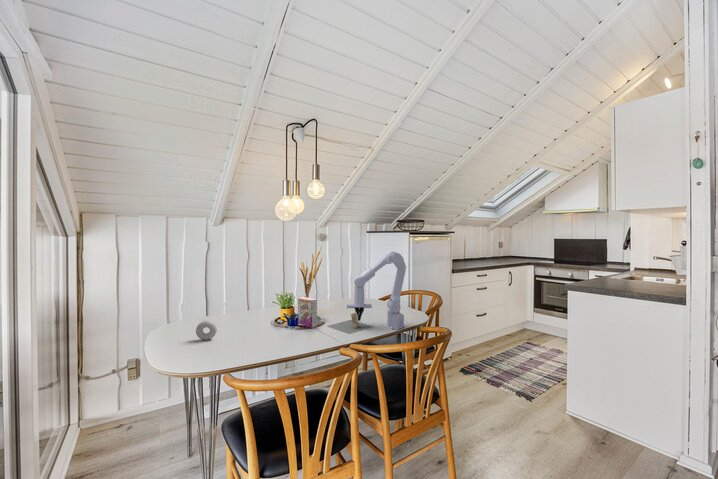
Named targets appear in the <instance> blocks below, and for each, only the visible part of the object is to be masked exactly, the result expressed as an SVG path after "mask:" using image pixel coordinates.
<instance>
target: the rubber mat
mask: <svg viewBox="0 0 718 479" xmlns="http://www.w3.org/2000/svg"><path fill="white" fill-rule="evenodd" d="M358 323H359V327H357V328H354V326H353V322H352V319H349V320H345V321H341V322H337V323H334V324H329V325H326V327H328V328H330V329H333V330H336V331H339V332H342V333H345V334H349V335H351V334H355V333H358V332H361V331H365V330H369V329H371V328H375V326H373V325H370V324H367V323H363V322H360V321H358Z"/></svg>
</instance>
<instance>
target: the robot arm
mask: <svg viewBox="0 0 718 479" xmlns="http://www.w3.org/2000/svg"><path fill="white" fill-rule="evenodd" d="M391 264H394V266H395V267H396V272H395V273H396V274H395V278H394V282H393V288H392V292H391V295H390V297H389V299H388V301H387V303H386V306H387V308H388V309H387V321H386V322H387V324H386V325H387V326H388V327H387V328H389V327H390V329H392V328H393V329H392V330H395V329H396V331H397V330H400V328H401V329H403V327H404V328H406V327H405V316H404V314H403V313H401V294H402V289H403V284H404V280H405V276H406V272H407V266H406V263H405V260H404V257H403V256H402V254H401V253H399V252H396V251H391V252H390V253H389V254H386V255H385V256H384V257H383V258H382V259H381V260H379V261H378V262H377V263H376V264H375V265H374V266H372V267H368V268H365V270H364V271H363V272H362V273H359V274H358V276H356V277H355V278H354V280H353V283H354V300H353V302H354V303H349V304H346V309H354V311H355V313H356V315H357V319H358V322H360V321H361V318H362V315H363V313H364V311H365V309H373V305H372V304H371V303H370V304H369V303H365V284H366V283H368V282H369V281H370V280H371V279H372V278H374V277H375V276H376V273H377V272H378V271H379V270H381V269H382V268H383V267H384V266H386V265H391ZM391 327H392V328H391Z"/></svg>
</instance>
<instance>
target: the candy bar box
mask: <svg viewBox="0 0 718 479" xmlns="http://www.w3.org/2000/svg"><path fill="white" fill-rule="evenodd" d="M298 323H299V324H303V325H305V326H306V327H305V328H308V329H314V328H316V327H318V299H316V298H311V297H305V296H301V297H298V298H297V324H298Z"/></svg>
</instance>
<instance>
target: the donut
mask: <svg viewBox="0 0 718 479" xmlns="http://www.w3.org/2000/svg"><path fill="white" fill-rule="evenodd" d="M206 328H208V329H209V332H207V333H206V332H204V329H206ZM217 330H218V329H217V325H216V323H214V322H213V321H211V320H202V322H200V323H198V325H197V326H196V328H195V334H196V336H197V338H199V340H203V341H208V340H212V339H213V338H214V337H215V336H216V334H217V332H218V331H217Z"/></svg>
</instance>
